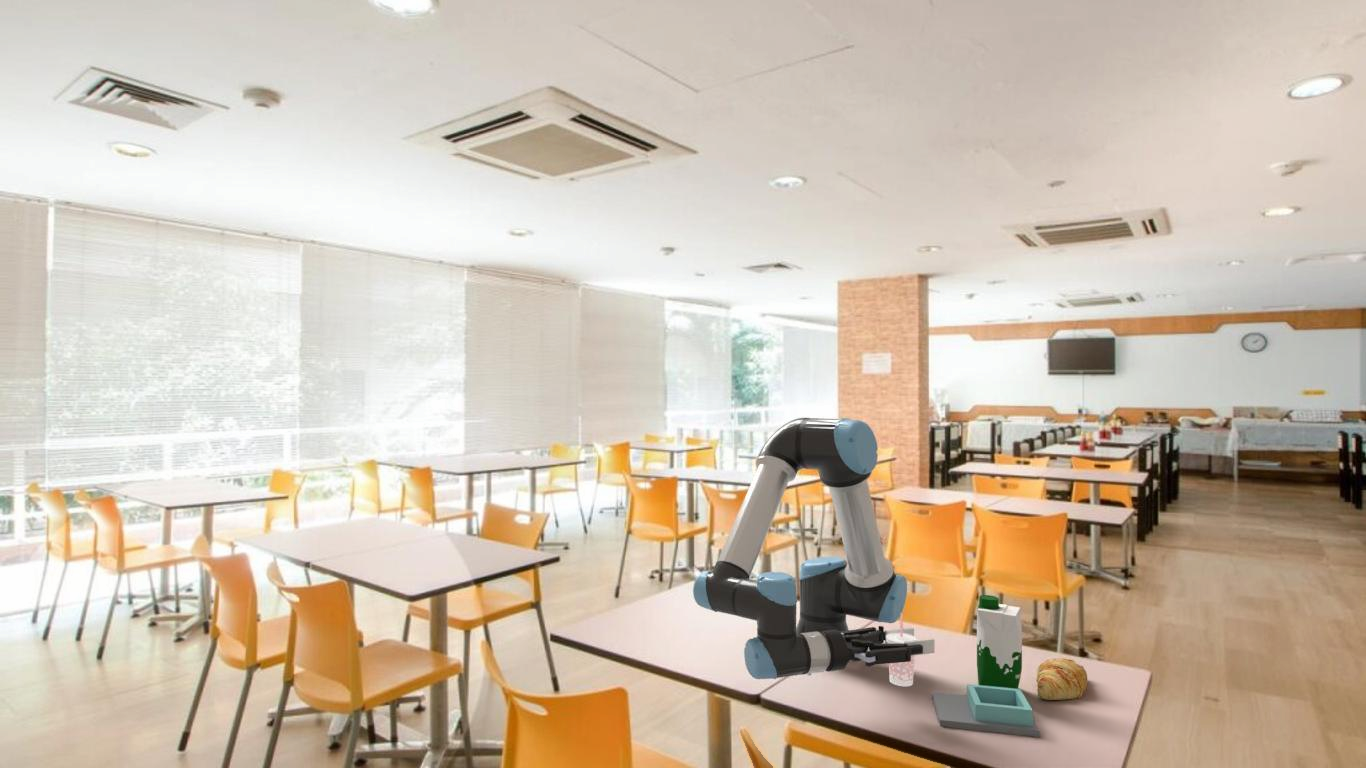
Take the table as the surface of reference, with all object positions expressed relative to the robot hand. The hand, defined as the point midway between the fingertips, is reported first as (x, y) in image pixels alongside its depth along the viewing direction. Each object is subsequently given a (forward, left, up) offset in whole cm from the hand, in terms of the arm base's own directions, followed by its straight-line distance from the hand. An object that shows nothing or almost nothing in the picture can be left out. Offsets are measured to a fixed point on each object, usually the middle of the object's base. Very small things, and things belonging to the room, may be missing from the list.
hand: (922, 639), depth 147 cm
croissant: (+31, +20, -15) cm, 40 cm away
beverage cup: (-4, -2, -8) cm, 10 cm away
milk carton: (+18, +16, -15) cm, 28 cm away
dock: (+12, +1, -15) cm, 19 cm away
